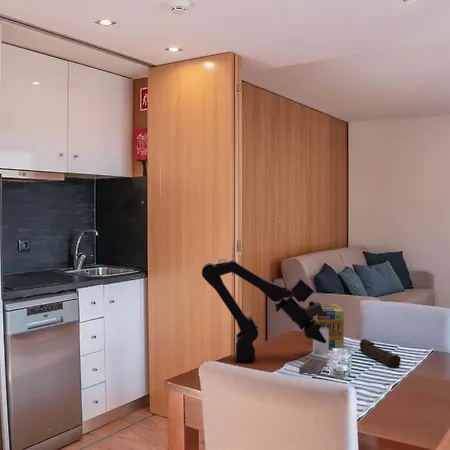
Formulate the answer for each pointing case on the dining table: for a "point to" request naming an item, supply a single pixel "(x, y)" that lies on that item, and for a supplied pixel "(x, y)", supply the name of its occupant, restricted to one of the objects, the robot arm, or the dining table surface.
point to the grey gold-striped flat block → (313, 366)
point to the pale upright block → (321, 347)
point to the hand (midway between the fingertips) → (324, 341)
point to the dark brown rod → (379, 354)
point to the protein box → (332, 324)
